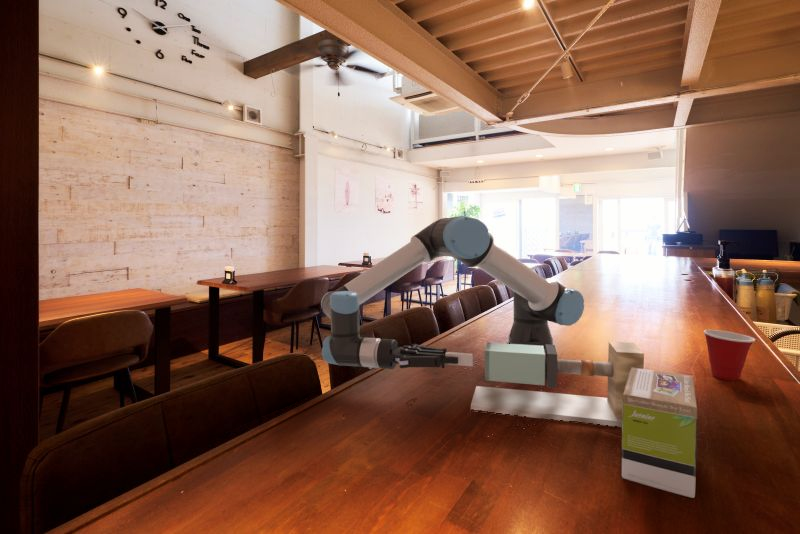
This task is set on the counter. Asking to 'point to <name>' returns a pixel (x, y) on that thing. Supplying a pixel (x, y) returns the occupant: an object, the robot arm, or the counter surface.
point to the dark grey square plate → (551, 366)
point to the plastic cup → (727, 353)
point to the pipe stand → (566, 404)
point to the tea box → (660, 431)
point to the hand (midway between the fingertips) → (472, 359)
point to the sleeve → (515, 363)
